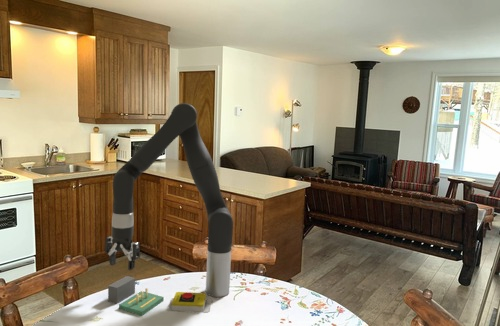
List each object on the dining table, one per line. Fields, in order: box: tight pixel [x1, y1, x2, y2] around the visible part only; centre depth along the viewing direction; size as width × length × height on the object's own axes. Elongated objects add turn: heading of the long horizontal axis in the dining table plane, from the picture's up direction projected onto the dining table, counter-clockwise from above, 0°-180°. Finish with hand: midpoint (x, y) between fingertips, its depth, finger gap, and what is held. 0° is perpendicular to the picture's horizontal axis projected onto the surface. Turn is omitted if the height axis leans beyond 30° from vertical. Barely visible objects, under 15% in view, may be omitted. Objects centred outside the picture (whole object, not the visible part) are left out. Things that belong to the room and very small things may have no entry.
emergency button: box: [166, 291, 213, 313], centre depth 135 cm, size 9×4×15 cm
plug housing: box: [107, 275, 136, 305], centre depth 138 cm, size 10×4×6 cm, turn 157°
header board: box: [118, 287, 164, 317], centre depth 134 cm, size 12×10×5 cm
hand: (121, 267), depth 137 cm, fingers open, 8 cm apart
